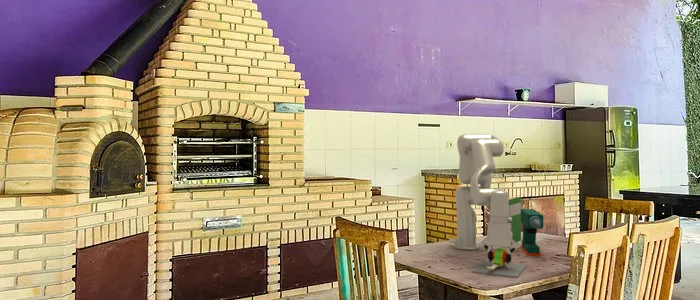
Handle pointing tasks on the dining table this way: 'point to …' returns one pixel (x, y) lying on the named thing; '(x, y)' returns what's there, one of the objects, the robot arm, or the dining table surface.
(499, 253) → the toy measuring tape
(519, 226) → the hardback book
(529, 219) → the power tool
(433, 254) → the dining table surface
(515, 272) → the mat
